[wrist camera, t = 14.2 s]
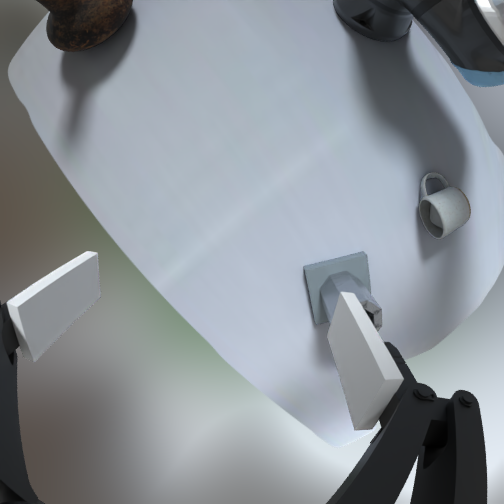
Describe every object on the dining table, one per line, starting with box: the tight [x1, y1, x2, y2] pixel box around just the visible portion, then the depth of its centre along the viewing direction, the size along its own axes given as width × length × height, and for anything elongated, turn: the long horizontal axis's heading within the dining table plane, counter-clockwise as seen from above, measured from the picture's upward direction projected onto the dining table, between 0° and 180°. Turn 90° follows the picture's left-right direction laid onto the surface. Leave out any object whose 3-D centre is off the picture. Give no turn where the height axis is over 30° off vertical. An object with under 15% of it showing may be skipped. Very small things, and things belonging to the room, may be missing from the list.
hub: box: [320, 271, 382, 332], centre depth 41 cm, size 7×7×11 cm
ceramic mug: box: [419, 172, 471, 239], centre depth 39 cm, size 11×8×8 cm
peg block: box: [304, 252, 371, 325], centre depth 45 cm, size 11×11×8 cm
